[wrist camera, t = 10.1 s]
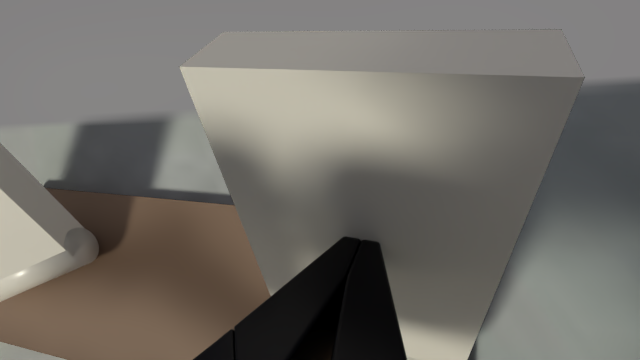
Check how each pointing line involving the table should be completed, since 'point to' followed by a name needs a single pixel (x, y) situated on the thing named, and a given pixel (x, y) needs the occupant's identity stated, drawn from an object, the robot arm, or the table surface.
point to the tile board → (141, 283)
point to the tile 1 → (36, 232)
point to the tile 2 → (389, 155)
